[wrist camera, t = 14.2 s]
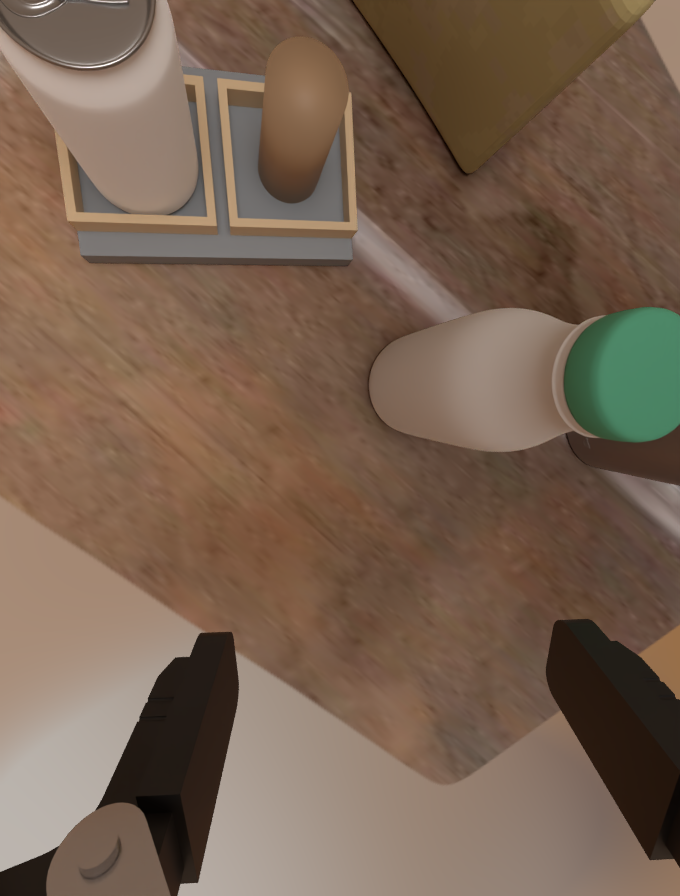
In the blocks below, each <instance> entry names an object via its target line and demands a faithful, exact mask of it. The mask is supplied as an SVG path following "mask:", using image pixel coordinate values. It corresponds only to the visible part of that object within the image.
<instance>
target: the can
mask: <svg viewBox="0 0 680 896" xmlns="http://www.w3.org/2000/svg"><path fill="white" fill-rule="evenodd" d="M0 50H1V51H2V53H3V55H4V56H5V58H6V59H7V61H8V62H9V64H10V65H11V67H12V68H13V70H14V71H15V73H16V74H17V76H18V77H19V79H20V80H21V82H22V83H23V84H24V86H25V87H26V89H27V90H28V92H29V93H30V95H31V96H32V97H33V99H34V100H35V102H36V103H37V105H38V106H39V107H40V109H41V110H42V112H43V113H44V115H45V116H46V117H47V119H48V120H49V122H50V123H51V125H52V126H53V127H54V129H55V130H56V132H57V133H58V135H59V136H60V137H61V139H62V140H63V142H64V143H65V145H66V146H67V147H68V149H69V150H70V152H71V153H72V154H73V156H74V157H75V159H76V160H77V162H78V163H79V164H80V166H81V167H82V169H83V170H84V171H85V173H86V174H87V176H88V177H89V178H90V180H91V181H92V183H93V184H94V185H95V187H96V188H97V189H98V190H99V192H100V193H101V194H102V195H103V196H104V197H105V198H106V199H107V200H108V201H109V202H111V203H112V204H113V205H115V206H116V207H118V208H120V209H121V210H123V211H125V212H128V213H130V214H141V215H168V214H171V213H173V212H175V211H177V210H178V209H180V208H181V207H182V206H183V205H184V204H185V203H186V202H187V201H188V200H189V199H190V197H191V196H192V194H193V192H194V190H195V187H196V184H197V179H198V158H197V152H196V145H195V139H194V134H193V128H192V122H191V116H190V110H189V105H188V99H187V93H186V88H185V82H184V77H183V71H182V66H181V60H180V55H179V49H178V44H177V39H176V33H175V29H174V24H173V19H172V15H171V12H170V9H169V5H168V2H167V0H0Z"/></svg>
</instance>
